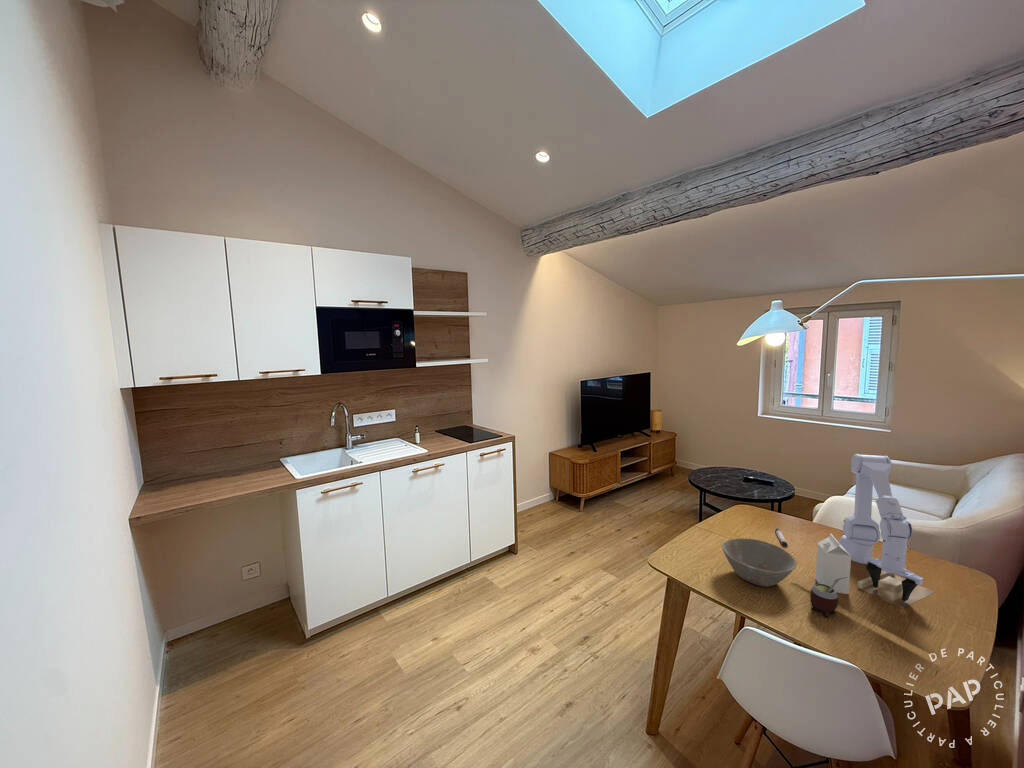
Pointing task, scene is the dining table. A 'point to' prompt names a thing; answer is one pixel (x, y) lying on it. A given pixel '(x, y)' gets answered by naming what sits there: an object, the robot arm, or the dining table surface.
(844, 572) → the milk carton
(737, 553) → the ceramic bowl
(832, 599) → the mate gourd
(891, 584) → the block
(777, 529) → the marker
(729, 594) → the dining table surface
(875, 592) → the pale wooden board
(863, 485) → the robot arm
